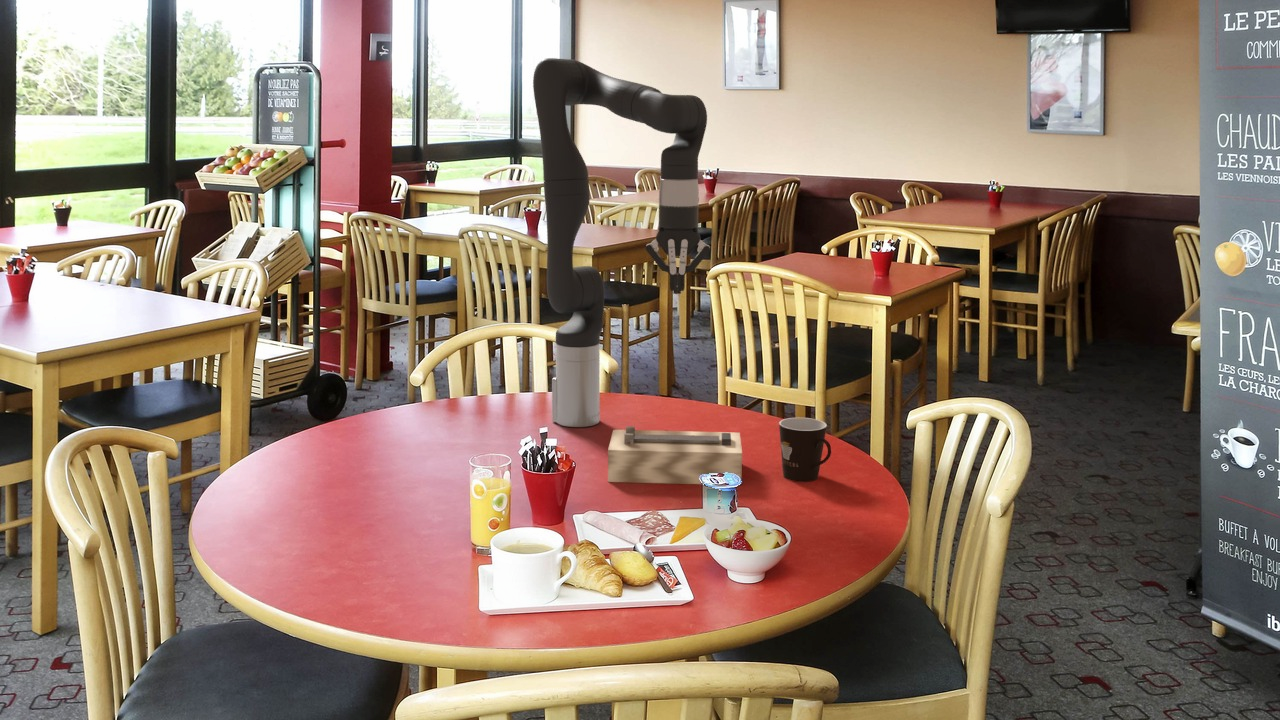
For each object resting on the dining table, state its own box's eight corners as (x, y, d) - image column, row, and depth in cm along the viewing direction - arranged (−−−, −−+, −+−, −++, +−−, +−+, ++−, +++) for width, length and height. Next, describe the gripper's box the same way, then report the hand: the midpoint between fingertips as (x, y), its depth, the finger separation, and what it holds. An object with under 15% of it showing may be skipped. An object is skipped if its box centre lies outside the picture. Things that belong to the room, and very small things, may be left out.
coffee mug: (772, 469, 216) (774, 417, 214) (818, 468, 217) (820, 417, 215) (785, 489, 205) (787, 435, 203) (833, 489, 206) (835, 435, 203)
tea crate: (607, 481, 208) (608, 440, 207) (613, 459, 221) (613, 420, 219) (741, 485, 207) (742, 443, 205) (738, 462, 220) (739, 423, 218)
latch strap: (631, 441, 212) (631, 438, 211) (632, 437, 214) (632, 434, 214) (719, 443, 211) (719, 440, 211) (719, 439, 214) (719, 435, 214)
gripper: (642, 204, 215) (641, 295, 219) (713, 205, 215) (711, 297, 218) (644, 200, 222) (643, 289, 226) (713, 201, 222) (711, 290, 226)
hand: (677, 293), depth 222 cm, fingers closed
